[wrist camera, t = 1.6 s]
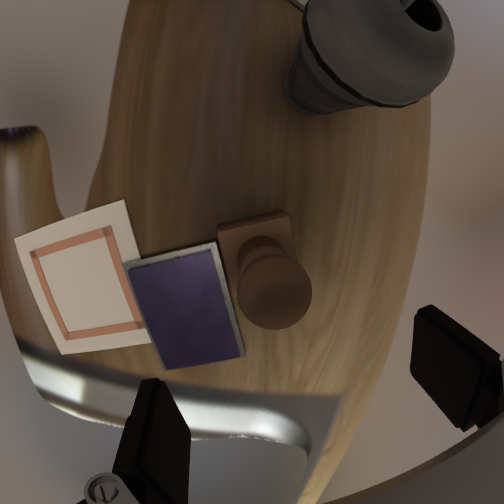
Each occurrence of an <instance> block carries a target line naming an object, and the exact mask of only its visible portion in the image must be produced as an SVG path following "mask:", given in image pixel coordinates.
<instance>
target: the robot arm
mask: <svg viewBox="0 0 504 504" xmlns="http://www.w3.org/2000/svg"><path fill="white" fill-rule="evenodd" d="M290 1H291V2H292V3H294V4H295V5H296V6H297V7H299V8H300V9H301V10H303V11H304V8H305V4H306V3H307V2H308V0H290ZM499 357H500V354H498V353H497V352H496V351H495V350H493V349H492V348H491V347H490V346H488V345H487V344H486V343H484V342H483V341H482V340H480V339H479V338H478V337H476V336H475V335H474V334H472V333H471V332H470V331H468V330H467V329H466V328H464V327H463V326H462V325H460V324H459V323H457V322H456V321H455V320H453V319H452V318H451V317H449V316H448V315H446V314H445V313H444V312H442V311H441V310H439V309H438V308H437V307H435V306H434V305H428V306H425V307H423V308H420V309H419V310H418V311H417V314H416V315H415V316H414V329H413V342H412V353H411V362H410V372H411V374H412V376H413V377H414V379H415V380H416V381H417V382H418V383H419V384H420V385H421V387H422V388H423V389H424V390H425V391H426V393H427V394H428V395H429V396H430V397H431V398H432V400H433V401H434V402H435V403H436V404H437V406H438V407H439V408H440V409H441V410H442V412H443V413H444V414H445V415H446V416H447V418H448V419H449V420H450V421H451V422H452V424H453V425H454V426H455V427H456V428H459V427H460V429H461V430H462V431H463V432H465V431H467V430H468V429H470V428H471V427H473V426H474V425H476V426H477V427H478V430H477V431H476V432H475V433H473V434H471V435H470V436H468V437H467V438H465V439H464V440H462V441H461V442H459V443H457V444H456V445H454V446H453V447H451V448H449V449H448V450H446V451H444V452H442V453H441V454H439V455H437V456H435V457H434V458H432V459H430V460H428V461H426V462H424V463H423V464H421V465H419V466H417V467H415V468H413V469H411V470H409V471H407V472H405V473H402V474H400V475H398V476H396V477H394V478H392V479H389V480H387V481H385V482H382V483H380V484H377V485H375V486H373V487H370V488H367V489H365V490H362V491H359V492H357V493H354V494H351V495H348V496H345V497H342V498H339V499H336V500H333V501H329V502H326V503H323V504H504V359H503V361H501V360H499ZM190 446H191V433H190V429H189V427H188V425H187V424H186V422H185V420H184V418H183V416H182V414H181V412H180V411H179V409H178V407H177V405H176V403H175V401H174V399H173V397H172V395H171V393H170V391H169V389H168V387H167V385H166V383H165V382H164V381H160V380H159V379H158V378H150V379H143V380H142V381H141V383H140V386H139V390H138V393H137V396H136V399H135V402H134V406H133V409H132V412H131V415H130V416H129V417H128V418H127V420H126V423H125V427H124V430H123V433H122V437H121V440H120V444H119V447H118V451H117V454H116V458H115V462H114V465H113V469H112V473H109V472H104V473H99V474H96V475H94V476H93V477H92V478H90V479H89V480H88V482H87V483H86V485H85V487H84V496H85V499H84V500H82V501H80V502H79V503H77V504H188V485H189V464H190Z"/></svg>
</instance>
